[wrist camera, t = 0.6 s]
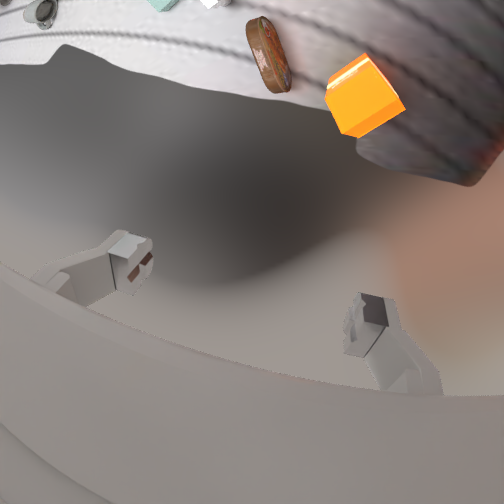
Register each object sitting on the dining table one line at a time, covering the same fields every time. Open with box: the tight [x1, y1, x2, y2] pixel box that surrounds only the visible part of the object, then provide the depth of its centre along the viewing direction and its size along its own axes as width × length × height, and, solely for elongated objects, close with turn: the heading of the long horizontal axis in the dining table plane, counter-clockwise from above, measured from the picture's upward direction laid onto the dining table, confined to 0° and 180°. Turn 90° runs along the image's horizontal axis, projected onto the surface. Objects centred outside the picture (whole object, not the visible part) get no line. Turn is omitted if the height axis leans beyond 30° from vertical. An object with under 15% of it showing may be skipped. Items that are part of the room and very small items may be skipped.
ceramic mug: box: [23, 0, 57, 30], centre depth 34 cm, size 11×8×8 cm
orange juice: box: [325, 53, 405, 138], centre depth 35 cm, size 8×9×20 cm
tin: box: [246, 16, 291, 94], centre depth 39 cm, size 15×3×8 cm, turn 19°
